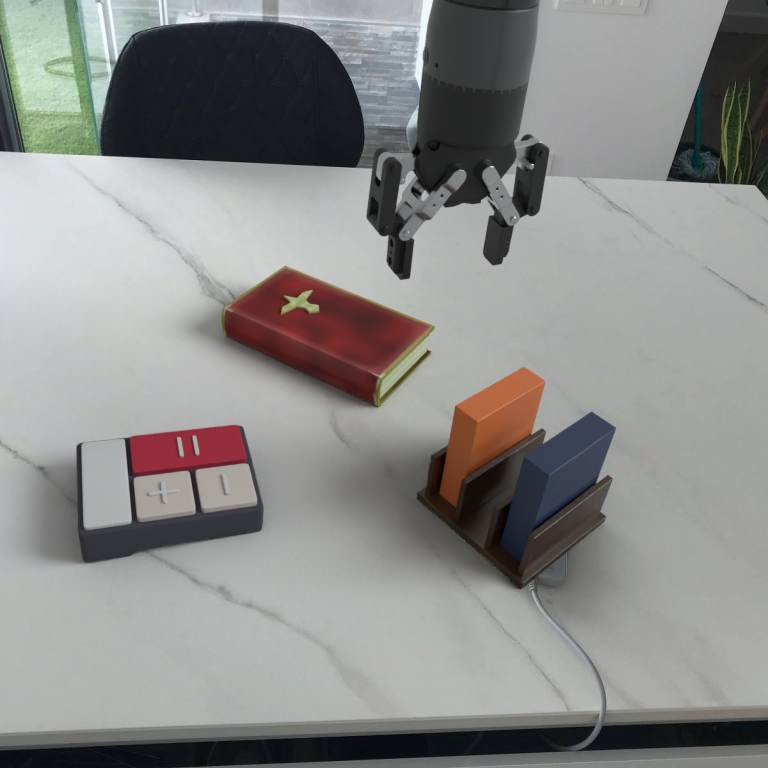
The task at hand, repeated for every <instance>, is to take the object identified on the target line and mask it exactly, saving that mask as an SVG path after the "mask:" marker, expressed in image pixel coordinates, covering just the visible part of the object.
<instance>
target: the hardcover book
mask: <svg viewBox="0 0 768 768" xmlns="http://www.w3.org/2000/svg"><path fill="white" fill-rule="evenodd" d="M221 328H222V333H223V335H224V337H227V338H229V339H231V340H233V341H235V342H238V343H239V344H242V345H244V346H246V347H248V348H251V349H253V350H255V351H257V352H259V353H262V354H263V355H265V356H268V357H270V358H272V359H274V360H276V361H279V362H280V363H282V364H285V365H287V366H289V367H292V368H294V369H297V370H298V371H300V372H303V373H305V374H307V375H309V376H311V377H312V378H315V379H318V380H320V381H322V382H324V383H326V384H329V385H331V386H333V387H335V388H336V389H339V390H341V391H343V392H345V393H348V394H350V395H352V396H355V397H357V398H358V399H361V400H362V401H365V402H367V403H370V404H372V405H374V406H375V407H378V408H379V407H380V406H381V405H382V404H383V403H384V402H385V401H386V400H387V399H388V398H389V397H391V395H393V393H394V392H395V391H397V389H398V388H399V387H400V386H401V385H402V384H403V383H404V382H405V381H406V380H407V379H408V378H409V377H410V376H411V375H412V374H413V373H414V372H415V371H416V370H417V369H418V368H419V367H420V366H421V365H422V363H424V361H426V360H427V359H428V358H429V356H431V354H432V351H431V350H429V349H428V344H429V338H430V334H431V333H433V331H435V328H436V326H435V325H432V324H430V323H427V322H425V321H423V320H420V319H418V318H416V317H414V316H411V315H408V314H406V313H403V312H400V311H398V310H396V309H393V308H391V307H388V306H385V305H383V304H381V303H379V302H376V301H373V300H372V299H369V298H367V297H364V296H362V295H358V294H357V293H354V292H352V291H349V290H347V289H344V288H341V287H339V286H336V285H335V284H332V283H329V282H327V281H324V280H322V279H320V278H317V277H314V276H312V275H310V274H307V273H304V272H302V271H300V270H298V269H294V268H292V267H291V266H288V265H284V266H282V267H281V268H279V269H278V270H276V271H275V272H273V273H271V275H269V276H268V277H266V278H265V279H263V280H262V281H261V282H258V283H257V284H256V285H254V286H253V287H252V288H250V289H248V290H247V291H245V292H244V293H242V294H241V295H239V296H237V298H235V299H234V300H232V301H231V302H229V303H228V304H226V305H225V306H223V307H222V310H221Z"/></svg>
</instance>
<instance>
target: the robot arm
mask: <svg viewBox="0 0 768 768" xmlns="http://www.w3.org/2000/svg"><path fill="white" fill-rule="evenodd" d="M540 2H541V0H432V2H431V7H430V11H429V15H428V20H427V25H426V33H425V42H424V47H423V50H422V69H421V70H422V71H421V80H420V87H419V88H420V89H419V98H418V107H417V118H416V125H417V126H416V133H417V137H416V141H415V144H414V146H413V147H412V149H411V151H410V152H398V153H397V152H396V153H392V152H390V150H388V149H387V148H385V147H379V148H377V149H376V150H375V152H374V154H373V160H372V166H371V167H372V168H371V175H370V184H369V192H368V200H367V208H366V215H365V217H366V220H367V221H368V222H369V224H370V225H371V226H372V227H373V229H374V230H375V231H376V233H377V234H378V235H379V236H381V237H388V238H387V250H386V257H385V259H386V264H387V266H388V268H390V270H391V271H392V273H393V274H394V275H395V276H396V277H397V278H398V280H400V281H404V280H409V279H410V278H411V275H412V274H411V273H412V266H413V265H412V264H413V257H414V256H413V255H414V247H415V239H414V238H413V236H414V235H415V234H416V233H417V231H419V229H420V228H421V227H422V225H424V223H425V222H426V221H431V220H432V219H433V218H434V217H435V216H436V214H437V213H438V212H439V210H440V209H441V208H442V207H444V208H446V209H447V208H454V207H457V206H459V205H462V204H466V205H467V204H468V205H477V204H481V203H482V200H484V199H485V200H486V201H487V204H488V205H489V207H490V208H491V210H492V211H493V214H491V215H488V219H487V225H486V232H485V236H484V242H483V249H482V254H483V257H484V258H485V259H486V261H488V263H490V265H491V266H493V267H494V266H499V265H502V264H503V262H504V258H507V256H508V254H509V252H510V247H511V242H512V237H513V233H514V229H515V228H514V227H515V225H516V224H518V223H519V221H520V219H522V218H523V217H526V216H528V217H534V216H536V215H538V213H540V210H541V206H542V201H543V200H542V199H543V193H544V189H545V182H546V180H545V179H546V175H547V169H548V162H549V157H550V148H549V146H547V145H546V144H544V143H543V142H542V141H541V140H540V139H539V138H537V137H535V136H534V135H532V134H530V133H526V134H524V135H523V136H522V137H521V139H520V141H519V140H518V141H516V140H517V138H518V137H519V134H520V131H521V125H522V120H523V115H524V114H523V113H524V110H525V109H524V108H525V103H526V98H527V94H528V93H527V92H528V88H529V82H530V76H531V71H532V66H533V62H534V55H535V50H536V46H537V37H538V25H539V24H538V23H539V22H538V20H539V11H540ZM513 164H515V165H516V169H515V175H514V182H513V191H512V196H511V195H510V192H509V191H508V190H507V188H506V186H505V184H504V183H503V181H502V178H503V177H504V176H505V175H506V174H507V172H508V171H509V170H510V168H511V167H512V166H513ZM412 171H413V173H414V176H413V178H412V180H410V182H409V183H408V184H407V186H406V187H405V188H404V190H403V191H402V193H401V199H400V201H399V202H398V198H399V192H400V185H401V186H402V185H405V184H406V177H407V175H408V174H409V173H410V172H412ZM424 192H426V194H427V195H428V196H427V197H426V199H424V200H422V195H423V194H424Z"/></svg>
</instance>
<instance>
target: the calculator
mask: <svg viewBox="0 0 768 768" xmlns="http://www.w3.org/2000/svg"><path fill="white" fill-rule="evenodd" d="M75 453H76V455H75V456H76V457H75V458H76V459H75V460H76V499H77V501H76V504H77V505H76V506H77V507H76V509H77V535H78V540H79V546H80V552H81V557H82V560H83V562H85V563H93V562H99V561H106V560H111V559H113V560H114V559H118V558H124V557H125V558H126V557H130V556H132V555H134V554H135V553H137V552H139V551H141V550H146V549H154V548H159V547H165V546H171V545H178V544H179V545H180V544H186V543H192V542H197V541H204V540H211V539H218V538H224V537H230V536H238V535H244V534H250V533H256V532H260V531H262V529H263V526H264V503H263V502H264V501H263V497H262V494H261V490H260V486H259V482H258V479H257V476H256V472H255V471H256V470H255V467H254V463H253V460H252V455H251V452H250V447H249V444H248V439H247V435H246V432H245V429H244V426H242V425H240V424H239V425H238V424H228V425H217V426H211V427H210V426H209V427H202V428H191V429H184V430H183V429H182V430H175V431H173V430H172V431H164V432H156V433H147V434H146V433H145V434H138V435H137V434H136V435H132V436H131V435H130V437H129V436H128V437H121V438H120V437H119V438H112V439H103V440H93V441H86V442H85V441H84V442H79V443H77V445H76V450H75Z"/></svg>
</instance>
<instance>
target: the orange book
mask: <svg viewBox="0 0 768 768" xmlns="http://www.w3.org/2000/svg"><path fill="white" fill-rule="evenodd" d="M546 382H547V381H546V380H545V379H543V378H542V377H541V376H539V375H537V374H536V373H534V372H533V371H531V370H530V369H529V368H527V367H525V366H522V367H520V368H518V369H517V370H515V371H513V372H512V373H510V374H509V375H507V376H505V377H503V378H501V379H500V380H498V381H496V382H494V383H492V384H491V385H489V386H487V387H486V388H484V389H482V390H480V391H478V392H477V393H475V394H473V395H471V396H470V397H468V398H466V399H464V400H462V401H461V402H459V403H457V404H455V406H454V411H453V417H452V422H451V426H450V427H451V428H450V432H449V437H448V444H447V445H448V449H447V454H446V460H445V465H444V471H443V476H442V482H441V487H440V493H439V494H440V495H441V496H443V497H444V498H445V499H446V500H447V501H449V502H450V503H451V504H452V505H453V506H454V507H456V506H457V501H458V496H459V491H460V486H461V481H462V479H464V478H466V477H467V476H469V475H470V474H472V473H473V472H475V471H476V470H478V469H479V468H481V467H483V466H484V465H486V464H487V463H489V462H490V461H492V460H493V459H495V458H496V457H498V456H500V455H501V454H503V453H504V452H506V451H507V450H509V449H510V448H512V447H513V446H515V445H516V444H518V443H520V442H521V441H523V440H524V439H526V438H527V437H529V436H530V435H532V434H533V430H534V425H535V422H536V418H537V415H538V414H537V413H538V411H539V407H540V404H541V400H542V397H543V393H544V389H545V386H546Z"/></svg>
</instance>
